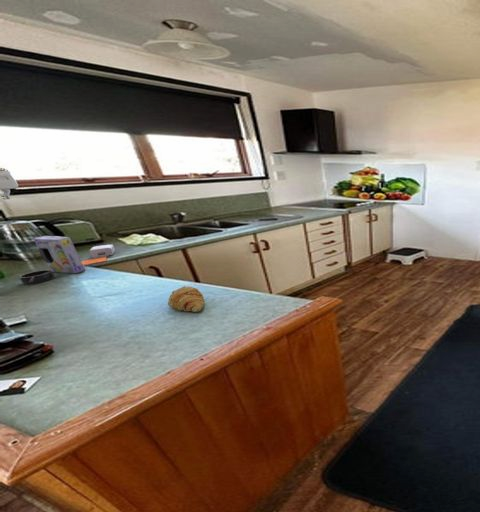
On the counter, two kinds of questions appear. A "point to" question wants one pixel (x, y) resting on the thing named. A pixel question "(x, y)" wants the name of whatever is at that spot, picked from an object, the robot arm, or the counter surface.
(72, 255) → the cake pan box
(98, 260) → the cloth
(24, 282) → the pan
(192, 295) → the croissant
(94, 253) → the charger
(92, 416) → the counter surface
